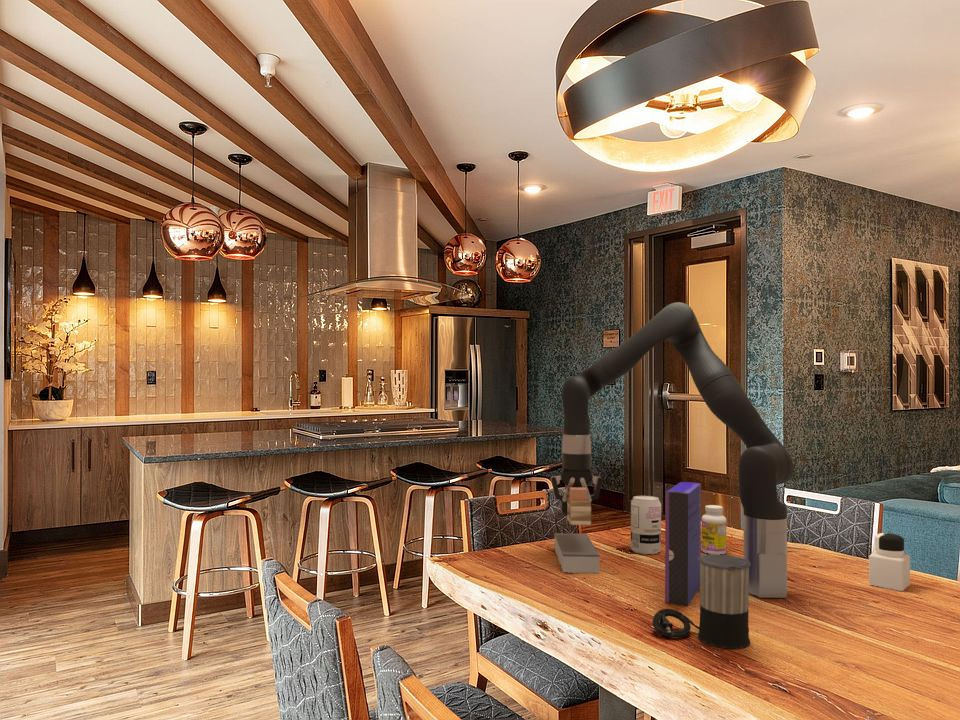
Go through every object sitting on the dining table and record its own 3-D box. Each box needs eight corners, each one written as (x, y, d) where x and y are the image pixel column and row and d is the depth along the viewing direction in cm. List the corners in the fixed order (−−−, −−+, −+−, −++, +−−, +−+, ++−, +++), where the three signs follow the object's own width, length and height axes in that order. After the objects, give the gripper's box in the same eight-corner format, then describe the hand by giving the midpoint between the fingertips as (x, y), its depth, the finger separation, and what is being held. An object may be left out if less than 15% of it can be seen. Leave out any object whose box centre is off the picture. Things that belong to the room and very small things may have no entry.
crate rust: (586, 505, 180) (586, 489, 180) (571, 505, 180) (571, 489, 180) (584, 502, 184) (584, 487, 184) (569, 502, 184) (569, 487, 184)
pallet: (590, 525, 178) (591, 502, 178) (571, 524, 178) (571, 502, 178) (580, 510, 198) (581, 489, 198) (563, 510, 198) (563, 489, 198)
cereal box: (680, 582, 168) (680, 481, 168) (700, 585, 166) (701, 482, 166) (665, 603, 152) (665, 491, 153) (687, 606, 150) (688, 493, 151)
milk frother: (761, 647, 127) (761, 564, 128) (685, 656, 123) (685, 570, 123) (714, 621, 141) (714, 546, 141) (644, 628, 137) (644, 551, 137)
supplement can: (637, 546, 204) (637, 494, 204) (665, 551, 199) (665, 497, 199) (626, 552, 197) (626, 498, 198) (654, 556, 192) (654, 501, 193)
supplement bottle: (696, 550, 199) (696, 505, 200) (714, 548, 202) (714, 503, 202) (713, 556, 193) (713, 509, 194) (731, 554, 196) (731, 507, 196)
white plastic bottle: (910, 585, 167) (910, 534, 168) (903, 591, 162) (902, 539, 162) (876, 579, 172) (876, 529, 173) (868, 585, 167) (868, 534, 167)
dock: (599, 573, 175) (599, 554, 175) (563, 572, 175) (563, 554, 176) (586, 549, 199) (586, 533, 199) (554, 549, 199) (554, 533, 200)
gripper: (550, 452, 184) (550, 518, 184) (605, 453, 184) (605, 518, 184) (548, 449, 192) (548, 512, 191) (601, 450, 192) (601, 513, 191)
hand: (576, 515), depth 188 cm, fingers closed on pallet, 5 cm apart
